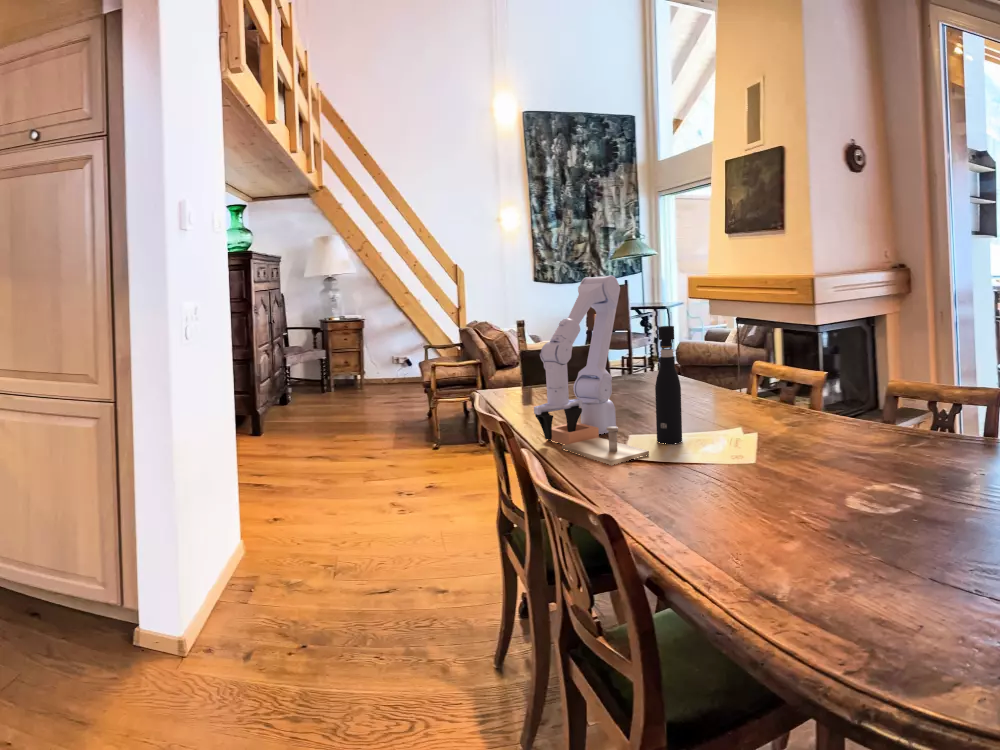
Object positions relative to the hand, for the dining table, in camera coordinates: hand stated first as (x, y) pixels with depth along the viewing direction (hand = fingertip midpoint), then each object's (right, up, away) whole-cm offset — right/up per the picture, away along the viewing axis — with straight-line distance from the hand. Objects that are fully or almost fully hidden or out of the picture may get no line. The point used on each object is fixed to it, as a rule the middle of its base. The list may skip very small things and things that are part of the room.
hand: (559, 436), depth 171 cm
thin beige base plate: (+10, -3, -12) cm, 16 cm away
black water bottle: (+28, -1, -5) cm, 29 cm away
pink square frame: (+4, -1, +2) cm, 5 cm away
